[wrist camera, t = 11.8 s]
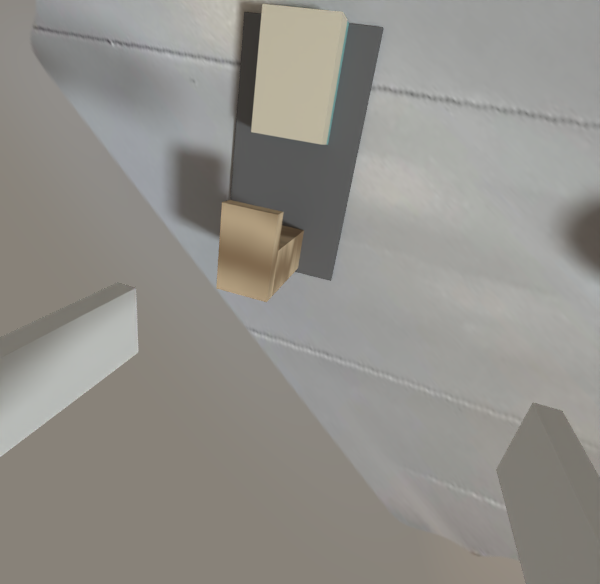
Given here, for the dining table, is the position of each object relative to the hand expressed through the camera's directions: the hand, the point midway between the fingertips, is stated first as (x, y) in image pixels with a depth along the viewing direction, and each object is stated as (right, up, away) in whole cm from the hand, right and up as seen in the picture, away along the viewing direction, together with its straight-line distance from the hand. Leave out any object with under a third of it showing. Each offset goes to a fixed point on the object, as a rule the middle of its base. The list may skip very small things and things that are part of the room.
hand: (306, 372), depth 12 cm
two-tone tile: (-1, +22, +20) cm, 29 cm away
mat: (-1, +17, +26) cm, 31 cm away
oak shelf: (-2, +9, +29) cm, 31 cm away
